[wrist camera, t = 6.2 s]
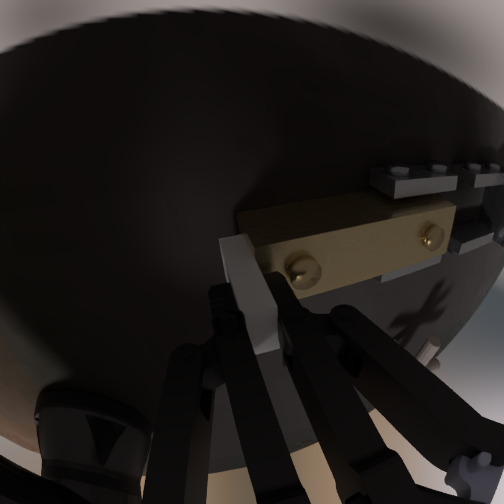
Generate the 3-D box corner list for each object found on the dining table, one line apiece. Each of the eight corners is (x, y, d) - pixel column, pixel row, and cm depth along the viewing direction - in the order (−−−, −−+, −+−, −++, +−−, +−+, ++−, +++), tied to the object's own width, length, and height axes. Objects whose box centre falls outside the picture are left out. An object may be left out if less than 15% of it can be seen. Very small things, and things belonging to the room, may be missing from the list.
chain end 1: (437, 245, 24) (467, 268, 20) (452, 157, 19) (490, 173, 16) (481, 230, 25) (506, 249, 22) (494, 158, 21) (525, 172, 17)
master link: (243, 266, 20) (263, 315, 15) (236, 213, 18) (257, 253, 13) (411, 227, 22) (450, 256, 18) (417, 184, 20) (462, 208, 16)
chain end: (359, 268, 22) (379, 289, 20) (369, 160, 18) (396, 171, 15) (418, 251, 24) (438, 267, 21) (432, 157, 19) (458, 168, 16)
